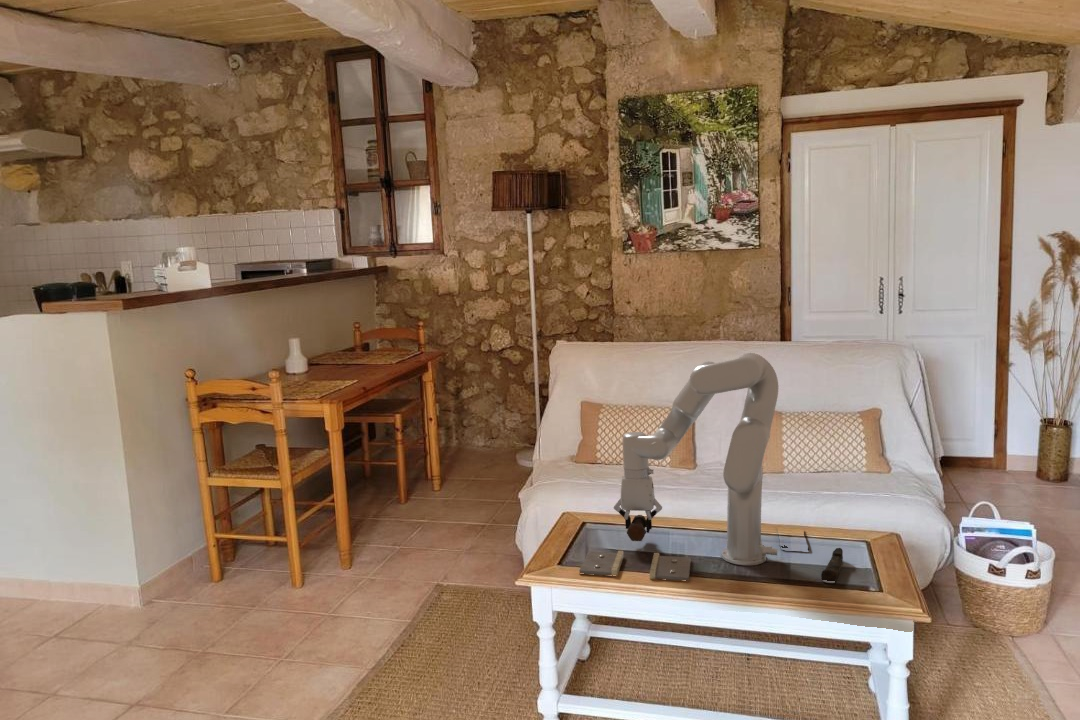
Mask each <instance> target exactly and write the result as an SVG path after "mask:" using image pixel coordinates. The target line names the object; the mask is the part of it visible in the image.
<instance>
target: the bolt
mask: <svg viewBox="0 0 1080 720" xmlns="http://www.w3.org/2000/svg"><path fill="white" fill-rule="evenodd" d="M646 519H647V518H646V516H644V515H642V514H637V515H635V516H634V518H633V519H632V520H631V525H630V527H629V528H628V529H626V530H627V531H626V534H627V536H628V538H629V539H630V541H632V542H643V539H644V538H645V535H646V534H647V530H646Z"/></svg>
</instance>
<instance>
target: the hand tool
mask: <svg viewBox="0 0 1080 720" xmlns="http://www.w3.org/2000/svg"><path fill="white" fill-rule="evenodd" d="M843 552H844V551H843V548H841V547H836V548H835V549H834V550H833V551H832V554H831V558H830V560H829V561H828V563H827V565H826V566H825V569H824V570H822V572H821V574H820V577H821V579H822V580H827V581H835V582H836V583H837V579H838V575H839V573H840V571H841V570H840V569H841V565H842V566H843V560H844V557H843V556H844V555H843ZM821 579H820V580H821ZM822 580H821V581H822Z"/></svg>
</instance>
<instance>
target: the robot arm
mask: <svg viewBox="0 0 1080 720" xmlns="http://www.w3.org/2000/svg"><path fill="white" fill-rule="evenodd" d="M744 389H747V391H746V395H745V396H746V397H745V399H744V404H743V410H742V413H741V417H740V421H739V422H738V423H737V425H736V426H735V428H734V430H733V432H732V435H731V438H730V443H729V446H728V451H727V455H726V458H725V463H724V467H723V473H722V476H723V482H724V483H725V485H726V486H727V504H726V505H727V507H726V509H727V510H726V514H727V516H726V518H727V519H726V520H727V521H726V522H727V523H726V525H727V527H726V528H727V529H726V540H727V541H726V548H724V549H723V550H722V551H721V558H722V559H723V560H724V561H726V562H727V563H731V564H733V565H738V566H757V565H760V564H763V563H765V562H766V560H767V555H770V556H778V548H773V546H772V545H764V544H763V542H762V539H761V538H762V493H763V492H762V491H763V490H762V489H763V477H764V476H763V475H764V470H763V469H764V468H763V467H764V466H763V460H764V457H765V453H766V448H767V445H768V443H769V441H770V437H771V429H772V424H773V419H774V417H775V411H776V406H777V401H778V397H779V396H778V395H779V379H778V376H777V373H776V370H775V368H774V367H773V366H772V364H771V363H770V361H768V360H767V359H766V358H764V357H763V356H762V355H760V354H757V353H755V352H748V353H743V354H742V355H740V356H739V357H738V358H734V359H729V360H725V361H721V362H713V361H704V362H702V363H700V364H699V365H697V366H696V367H695V368H694V369H693V370H692V371H691V373H690V375H689V378H688V380H687V382H686V383H685V384H684V385H683V387H682V389H681V390H680V391H679V392H678V394H677V395H676V397H675V398H674V400H673V402H672V407H671V410H670V411H669V413H668V414H667V416H666V417H665V419H664V420H663V422H662V423H661V425H660V426H659V427H658V429H657V430H656V431H655V432H654V433H653V434H651V435H647V434H646V433H644V432H641V431H632V432H631V431H629V432H627V433H624V434H623V435H622V458H623V459H622V460H623V476H622V477H621V483H620V484H621V485H620V498H619V500H618V501H617V502H616V503H615V504H614V506H613V509H614V510H615V511H616V512H617V513H618V514H619V515H621V517H623V519H624V520H625V523H624V524H625V529H626V530H628V528H629V527H630V525H631V523H632V520H631V519H632V518H631V516H630V513H631V511H634V512H635V511H638V512H639V511H640V512H644V513H645V515H646V518H645V519H646V527H645V530H646V534H648V533H650V532H651V531H650V530H652V529H653V524H652V520H653V518H655V516H656V515H657V514H658V513H660V511H662V510H663V506H662V504H660V502H658V500H657V499H656V498H655V488H654V487H655V486H654V482H653V477H652V476H651V475H652V474H653V475H654V472H655V471H654V469H653V468H650V465H649V460H655V461H661V460H662V461H663V460H664V459H665V458H667V457H668V456H670V454H671V453H672V451H674V449H676V447H677V446H678V444H679V443H680V442H681V440H682V439H683V437H684V436H685V435H686V433H687V432H688V430H689V429H690V428H691V426H692V425H693V424H694V423H695V422H696V421H697V420H698V418H699V417H700V416H701V414H702V412H703V411H704V410H705V408H706V407H707V406H708V404H709V403H710V401H711V400H712V399H713V397H714V396H715V395H716V394H722V393H726V392H731V391H732V392H733V391H737V390H738V391H739V390H744ZM654 506H655V507H654ZM654 508H655V509H654Z"/></svg>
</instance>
